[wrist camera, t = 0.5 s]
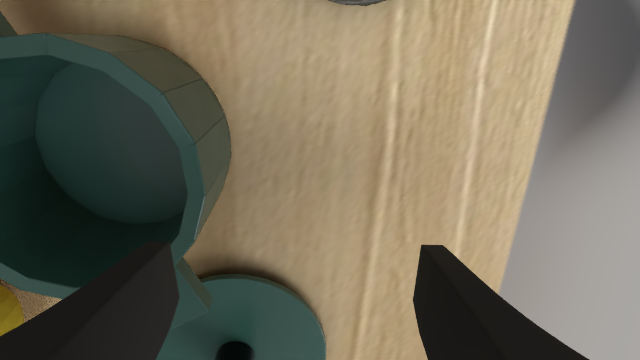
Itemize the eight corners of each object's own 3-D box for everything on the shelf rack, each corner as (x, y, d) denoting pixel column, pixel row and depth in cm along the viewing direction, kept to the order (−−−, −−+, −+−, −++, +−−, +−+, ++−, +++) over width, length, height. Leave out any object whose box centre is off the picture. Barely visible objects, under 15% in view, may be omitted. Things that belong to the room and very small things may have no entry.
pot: (139, 294, 24) (85, 380, 18) (-61, 50, 19) (-232, 54, 13) (290, 218, 22) (287, 283, 16) (120, -63, 18) (24, -118, 12)
